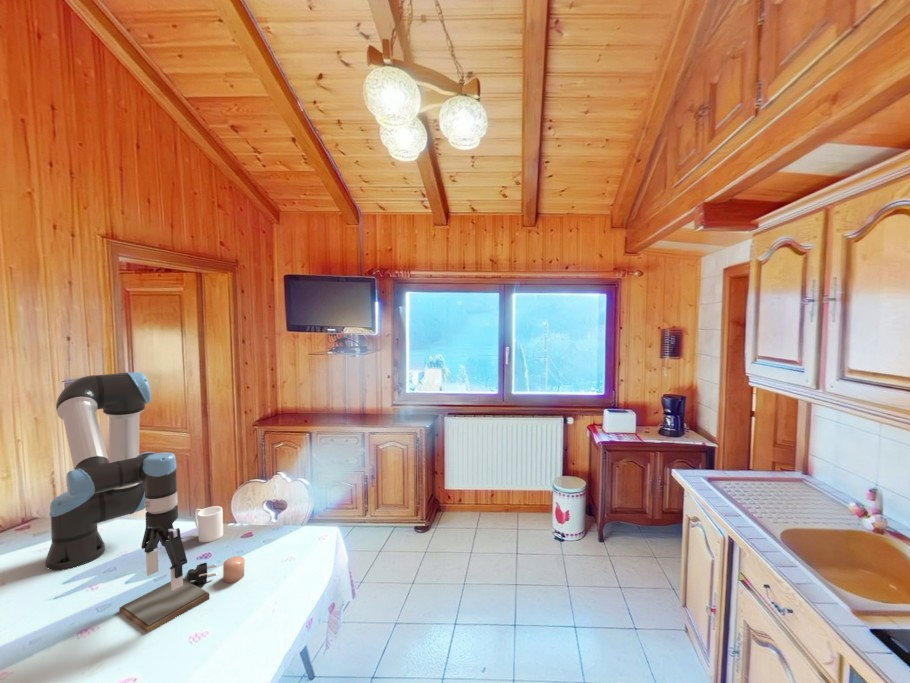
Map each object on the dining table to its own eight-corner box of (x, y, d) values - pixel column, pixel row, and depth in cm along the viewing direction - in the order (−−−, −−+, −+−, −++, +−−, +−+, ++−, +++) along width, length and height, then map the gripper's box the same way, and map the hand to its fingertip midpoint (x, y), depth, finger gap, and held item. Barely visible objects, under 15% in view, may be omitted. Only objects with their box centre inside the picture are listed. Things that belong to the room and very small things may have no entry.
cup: (204, 528, 163) (203, 503, 163) (228, 532, 160) (227, 507, 159) (185, 538, 156) (184, 513, 155) (209, 543, 152) (209, 517, 152)
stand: (119, 614, 115) (119, 606, 115) (180, 582, 129) (180, 575, 129) (147, 635, 107) (147, 627, 107) (209, 599, 121) (209, 591, 121)
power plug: (187, 561, 135) (189, 568, 125) (214, 555, 139) (217, 561, 130) (187, 580, 134) (188, 588, 124) (213, 573, 138) (217, 581, 129)
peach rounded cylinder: (221, 584, 128) (221, 569, 128) (224, 572, 134) (225, 557, 133) (242, 581, 130) (243, 566, 130) (245, 569, 136) (245, 555, 135)
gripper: (125, 504, 120) (128, 574, 121) (170, 524, 107) (173, 602, 108) (154, 494, 126) (157, 561, 127) (199, 512, 114) (202, 586, 115)
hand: (164, 580), depth 118 cm, fingers open, 13 cm apart
